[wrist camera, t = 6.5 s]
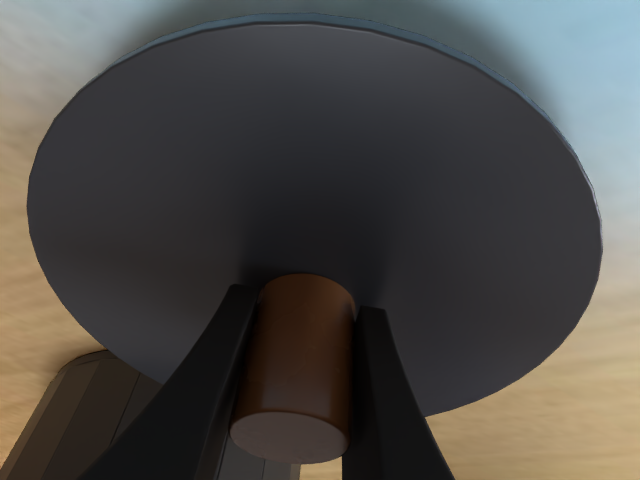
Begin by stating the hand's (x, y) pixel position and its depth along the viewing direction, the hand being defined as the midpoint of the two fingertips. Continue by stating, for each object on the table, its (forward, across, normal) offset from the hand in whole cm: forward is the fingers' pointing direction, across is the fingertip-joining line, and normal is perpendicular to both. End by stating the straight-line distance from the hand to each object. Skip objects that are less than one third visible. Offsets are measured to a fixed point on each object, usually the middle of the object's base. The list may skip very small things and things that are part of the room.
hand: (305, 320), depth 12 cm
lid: (+1, 0, 0) cm, 1 cm away
